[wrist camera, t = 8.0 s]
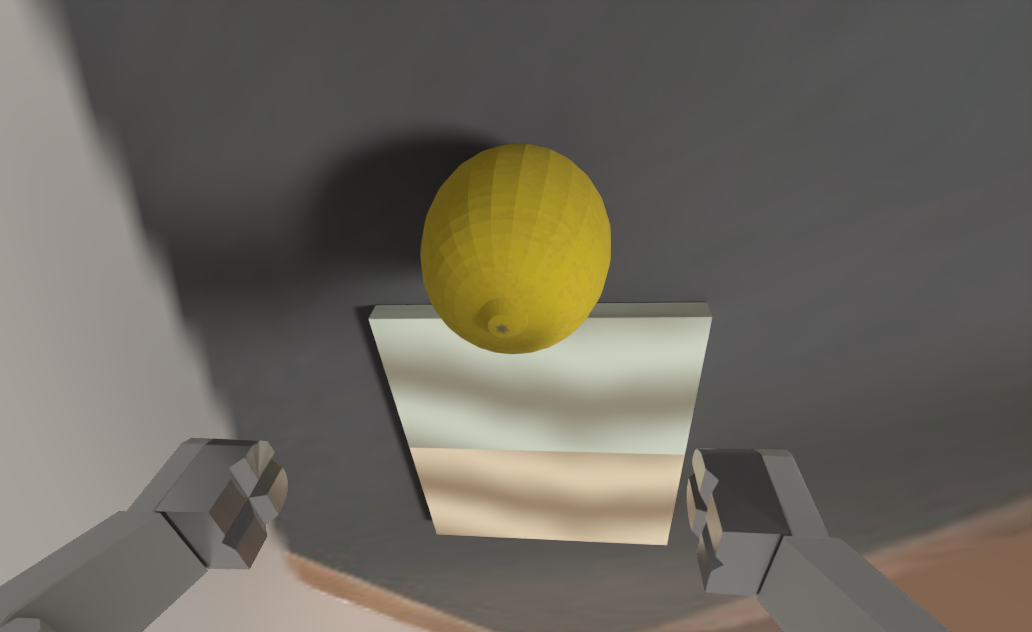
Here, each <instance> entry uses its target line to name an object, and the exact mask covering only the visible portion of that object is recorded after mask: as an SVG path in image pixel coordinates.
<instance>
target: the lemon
mask: <svg viewBox="0 0 1032 632" xmlns="http://www.w3.org/2000/svg"><path fill="white" fill-rule="evenodd" d="M610 259H611V233H610V224H609V220H608V217H607V213H606V210H605V207H604V203H603V200H602V198H601V196H600V194H599V193H598V191H597V190H596V188H595V187H594V185H593V184H592V182H591V180H590V179H589V177H588V176H587V175H586V174H585V173H584V172H583V171H582V170H581V169H580V168H579V167H578V166H576V165H575V164H574V163H573V162H572V161H571V160H570V159H569V158H567V157H565V156H563V155H561V154H559V153H557V152H555V151H553V150H551V149H549V148H545V147H541V146H536V145H532V144H505V145H501V146H498V147H494V148H491V149H488V150H484V151H482V152H480V153H478V154H477V155H475V156H474V157H472V158H470V159H469V160H467V161H465V162H464V163H462V164H461V165H460V166H459V167H458V168H457V169H456V170H455V171H454V172H453V173H452V175H451V176H450V177H449V178H448V179H447V180H446V181H445V182H444V183H443V185H442V186H441V187H440V189H439V190H438V192H437V194H436V196H435V198H434V201H433V203H432V205H431V207H430V209H429V211H428V213H427V216H426V220H425V224H424V230H423V237H422V243H421V266H422V273H423V281H424V286H425V289H426V292H427V294H428V296H429V299H430V301H431V303H432V306H433V308H434V309H435V311H436V312H437V314H438V315H439V316H440V317H441V319H442V320H443V321H444V323H445V324H446V325H447V327H449V328H450V329H451V330H452V331H453V332H455V333H456V334H457V335H458V336H459V337H461V338H462V339H464V340H466V341H468V342H469V343H471V344H473V345H475V346H477V347H479V348H482V349H485V350H488V351H491V352H495V353H503V354H524V353H532V352H536V351H539V350H543V349H546V348H549V347H551V346H553V345H555V344H557V343H558V342H560V341H562V340H564V339H565V338H567V337H568V336H570V335H571V334H572V333H573V332H574V331H575V330H576V329H577V328H578V327H579V326H581V325H582V324H583V322H584V321H585V320H586V319H587V317H588V316H589V314H590V312H591V311H592V309H593V308H594V306H595V305H596V303H597V301H598V299H599V297H600V295H601V293H602V290H603V287H604V283H605V280H606V276H607V272H608V269H609V265H610Z"/></svg>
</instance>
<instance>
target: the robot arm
mask: <svg viewBox="0 0 1032 632" xmlns="http://www.w3.org/2000/svg"><path fill="white" fill-rule="evenodd" d="M274 453H275V452H274V451H273V449H272V448H271V446H270V444H269V443H268V441H250V440H229V439H201V438H190V439H189V440H187V441H185V442H183V443H182V444H181V445H180V446H179V447H178V448H177V450H176V451H175V452H174V453H173V455H172V456H171V457H170V458H169V460H168V461H167V462H166V463H165V464H164V466H163V467H162V468H161V469H160V471H159V472H158V473H157V474H156V475H155V477H154V478H153V479H152V481H151V482H150V483H149V484H148V485H147V487H146V488H145V489H144V490H143V491H142V493H141V494H140V495H139V496H138V498H137V499H136V500H135V501H134V503H133V504H132V505H131V506H130V507H129V509H128V510H127V511H119V512H117V513H115V514H114V515H112V516H111V517H109V518H107V519H106V520H104V521H103V522H101V523H99V524H98V525H97V526H95V527H93V528H92V529H90V530H89V531H87V532H85V533H84V534H82V535H81V536H79V537H77V538H76V539H74V540H73V541H71V542H70V543H68V544H66V545H65V546H63V547H62V548H60V549H58V550H57V551H55V552H54V553H52V554H51V555H49V556H47V557H46V558H44V559H43V560H41V561H39V562H38V563H36V564H35V565H33V566H32V567H30V568H28V569H27V570H25V571H24V572H22V573H20V574H19V575H17V576H16V577H14V578H13V579H11V580H9V581H8V582H6V583H5V584H3V585H2V586H0V632H142V631H144V630H145V629H146V628H147V626H149V625H150V624H151V623H152V622H153V621H154V620H155V619H156V618H157V617H159V616H160V615H161V614H162V613H163V612H164V611H165V610H166V609H167V608H168V607H169V606H171V605H172V604H173V603H174V602H175V601H176V600H177V599H178V598H179V597H180V596H181V595H182V594H183V593H185V592H186V591H187V590H188V589H189V588H190V587H191V586H192V585H193V584H194V583H195V582H196V581H198V580H199V579H200V578H201V577H202V576H203V575H204V574H205V573H206V572H207V571H208V570H207V569H206V568H208V569H210V568H211V569H250V568H251V566H252V564H253V562H254V560H255V558H256V556H257V554H258V552H259V551H260V549H261V547H262V545H263V543H264V541H265V539H266V537H267V532H266V526H265V525H266V524H267V523H269V522H270V521H271V520H272V519H274V518H275V517H276V516H277V515H279V513H280V510H281V508H282V506H283V504H284V502H285V499H286V494H287V489H288V482H287V475H286V473H285V471H284V469H283V467H281V466H280V465H278V464H277V463H275V462H274V461H273V460H271V459H272V457H273V455H274ZM692 464H693V468H694V472H695V473H694V474H693V475H692V476H690V477H689V480H688V486H687V508H688V516H689V521H690V526H691V530H692V531H693V532H694V533H695V534H696V535H697V536H698V538H699V539H700V542H699V546H698V550H697V558H698V563H699V567H700V572H701V576H702V581H703V585H704V589H705V592H707V593H720V594H733V595H746V596H758V598H757V600H758V601H759V602H760V603H761V605H762V606H763V607H764V608H765V610H766V611H767V612H768V613H769V615H770V616H771V617H772V618H773V620H774V621H775V622H776V623H777V624H778V626H779V627H780V628H781V629H782V631H783V632H950V631H949V630H948V629H947V628H946V627H944V626H943V625H942V624H941V623H940V622H939V621H937V620H936V619H935V618H934V617H932V616H931V615H930V614H929V613H928V612H927V611H926V610H924V609H923V608H922V607H921V606H920V605H918V604H917V603H916V602H915V601H914V600H912V599H911V598H910V597H909V596H908V595H907V594H905V593H904V592H903V591H902V590H901V589H899V588H898V587H897V586H896V585H895V584H894V583H892V582H891V581H890V580H889V579H888V578H886V577H885V576H884V575H883V574H882V573H881V572H879V571H878V570H877V569H876V568H875V567H873V566H872V565H871V564H870V563H869V562H868V561H866V560H865V559H864V558H863V557H862V556H860V555H859V554H858V553H857V552H856V551H855V550H853V549H852V548H851V547H850V546H849V545H847V544H846V543H845V542H844V541H843V540H842V539H840V538H830V536H829V534H828V532H827V530H826V528H825V525H824V523H823V521H822V519H821V517H820V515H819V512H818V510H817V508H816V506H815V504H814V502H813V499H812V497H811V495H810V493H809V491H808V489H807V487H806V484H805V482H804V480H803V478H802V476H801V474H800V471H799V469H798V467H797V465H796V463H795V461H794V458H793V456H792V455H791V454H790V453H789V452H788V451H787V450H764V449H756V450H754V449H720V448H697V449H696V450H695V452H694V455H693V460H692Z"/></svg>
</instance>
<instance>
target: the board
mask: <svg viewBox="0 0 1032 632" xmlns="http://www.w3.org/2000/svg"><path fill="white" fill-rule="evenodd" d="M711 321H712V315H711V312H710V310H709V307H708V304H707V302H681V303H596V305H595V306H594V308H593V309H592V311H591V312H590V314H589V316H588V317H587V319H586V320H585V321H584V322H583V324H582V325H581V326H579V327H578V328H577V329H576V330H575V331H574V332H573V333H572V334H571V335H570V336H568V337H567V338H565V339H564V340H562V341H560V342H558V343H557V344H555V345H553V346H551V347H549V348H546V349H543V350H539V351H536V352H532V353H524V354H503V353H495V352H491V351H488V350H485V349H482V348H479V347H477V346H475V345H473V344H471V343H469V342H468V341H466V340H464V339H462V338H461V337H459V336H458V335H457V334H456V333H455V332H453V331H452V330H451V329H450V328H449V327H447V325H446V324H445V323H444V321H443V320H442V319H441V317H440V316H439V315H438V314H437V312H436V311H435V309H434V308H433V306H432V305H376V306H375V308H374V310H373V311H372V313H371V315H370V317H369V322H370V325H371V329H372V332H373V335H374V338H375V341H376V344H377V347H378V351H379V354H380V357H381V360H382V363H383V366H384V369H385V372H386V376H387V379H388V382H389V385H390V388H391V391H392V394H393V398H394V401H395V404H396V407H397V410H398V413H399V416H400V419H401V423H402V426H403V429H404V432H405V435H406V438H407V441H408V445H409V448H410V451H411V454H412V457H413V460H414V463H415V466H416V470H417V473H418V476H419V479H420V482H421V485H422V488H423V492H424V495H425V498H426V501H427V504H428V507H429V510H430V513H431V517H432V520H433V523H434V526H435V529H436V532H437V534H444V535H465V536H486V537H507V538H528V539H549V540H570V541H591V542H612V543H632V544H653V545H667V541H668V536H669V531H670V526H671V521H672V516H673V511H674V506H675V501H676V496H677V491H678V486H679V481H680V476H681V471H682V466H683V461H684V456H685V451H686V446H687V441H688V436H689V431H690V426H691V421H692V416H693V411H694V406H695V401H696V396H697V391H698V386H699V381H700V376H701V371H702V366H703V361H704V356H705V351H706V346H707V341H708V336H709V331H710V326H711Z"/></svg>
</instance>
